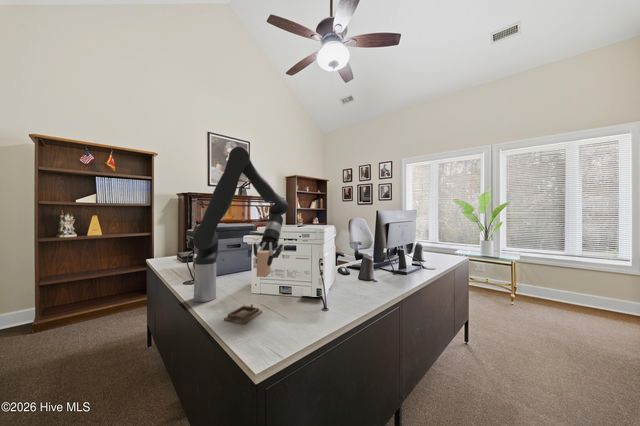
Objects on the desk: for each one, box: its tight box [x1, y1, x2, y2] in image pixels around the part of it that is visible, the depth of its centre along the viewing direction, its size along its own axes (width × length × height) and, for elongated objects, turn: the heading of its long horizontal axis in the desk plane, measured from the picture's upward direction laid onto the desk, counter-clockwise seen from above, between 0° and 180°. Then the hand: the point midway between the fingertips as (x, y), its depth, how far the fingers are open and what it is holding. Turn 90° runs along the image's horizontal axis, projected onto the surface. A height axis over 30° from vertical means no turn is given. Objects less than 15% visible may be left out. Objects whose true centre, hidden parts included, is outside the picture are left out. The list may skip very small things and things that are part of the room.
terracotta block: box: [256, 250, 272, 278], centre depth 102 cm, size 4×6×10 cm, turn 174°
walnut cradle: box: [223, 303, 263, 326], centre depth 96 cm, size 10×12×3 cm
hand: (263, 264), depth 101 cm, fingers closed on terracotta block, 4 cm apart
